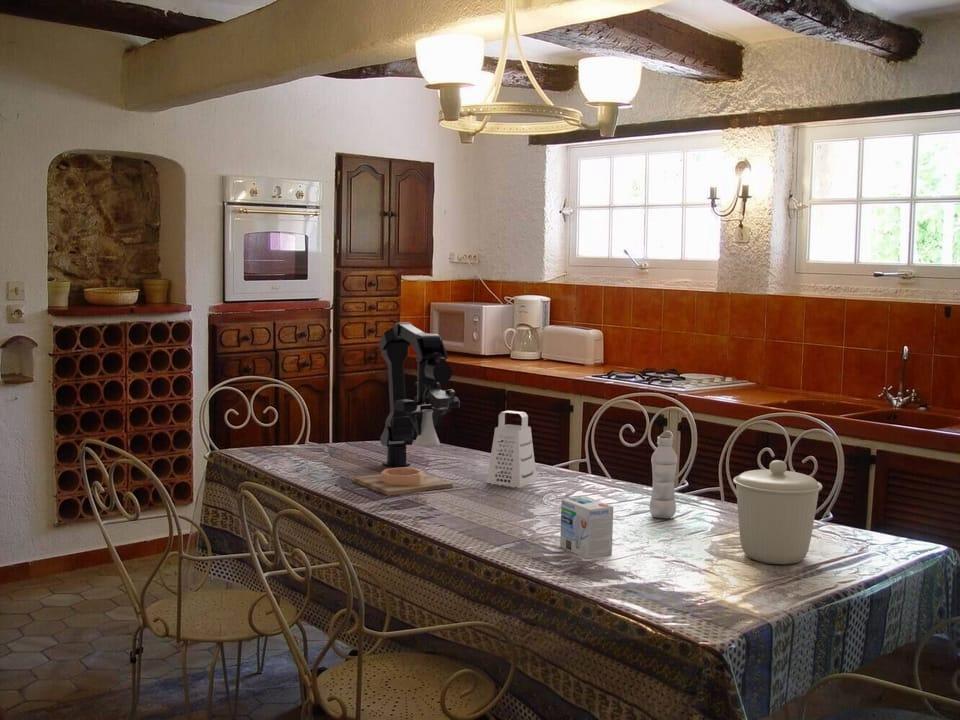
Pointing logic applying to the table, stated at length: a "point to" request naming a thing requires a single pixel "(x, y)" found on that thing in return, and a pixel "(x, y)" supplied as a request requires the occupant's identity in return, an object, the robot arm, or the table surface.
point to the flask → (427, 431)
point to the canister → (776, 513)
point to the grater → (512, 453)
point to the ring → (402, 476)
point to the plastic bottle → (663, 479)
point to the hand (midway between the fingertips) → (427, 434)
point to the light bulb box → (586, 527)
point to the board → (394, 489)
